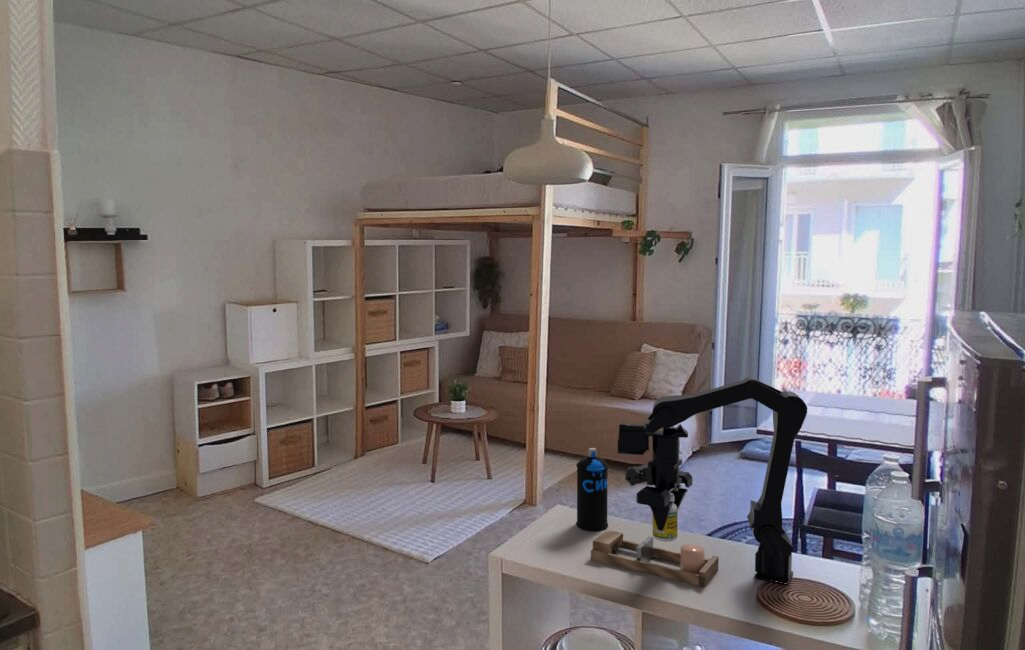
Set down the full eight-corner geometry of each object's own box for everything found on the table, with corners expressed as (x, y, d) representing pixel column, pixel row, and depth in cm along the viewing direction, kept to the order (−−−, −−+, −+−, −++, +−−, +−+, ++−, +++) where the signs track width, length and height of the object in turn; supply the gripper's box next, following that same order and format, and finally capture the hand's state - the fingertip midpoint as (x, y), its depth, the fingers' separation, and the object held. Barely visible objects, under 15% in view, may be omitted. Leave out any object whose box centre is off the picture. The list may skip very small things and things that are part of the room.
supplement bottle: (661, 531, 156) (661, 489, 155) (682, 537, 152) (682, 494, 151) (647, 537, 152) (647, 494, 151) (668, 544, 148) (668, 500, 147)
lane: (718, 569, 151) (718, 552, 151) (704, 587, 143) (704, 568, 143) (608, 544, 165) (609, 528, 165) (590, 559, 157) (590, 541, 157)
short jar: (707, 572, 150) (707, 547, 150) (700, 580, 146) (700, 555, 145) (684, 567, 153) (685, 542, 152) (676, 575, 148) (677, 550, 148)
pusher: (652, 556, 158) (653, 537, 157) (640, 567, 152) (640, 547, 151) (624, 549, 162) (624, 531, 161) (611, 560, 155) (611, 541, 155)
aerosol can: (571, 521, 180) (571, 446, 179) (600, 518, 183) (600, 443, 181) (583, 533, 172) (583, 454, 171) (613, 529, 175) (614, 451, 173)
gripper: (646, 442, 163) (646, 507, 164) (613, 460, 147) (613, 532, 148) (693, 448, 157) (692, 515, 158) (663, 468, 141) (663, 543, 142)
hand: (665, 525), depth 152 cm, fingers closed on supplement bottle, 5 cm apart
